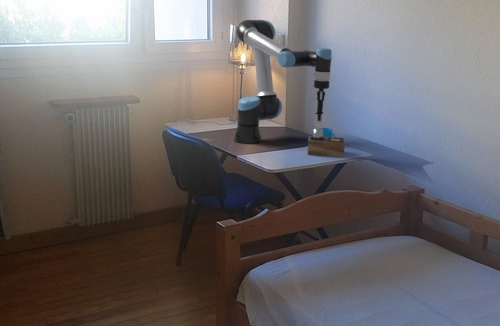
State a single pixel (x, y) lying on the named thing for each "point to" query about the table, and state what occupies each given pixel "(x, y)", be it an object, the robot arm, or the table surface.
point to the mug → (327, 132)
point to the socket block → (326, 147)
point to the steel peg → (317, 134)
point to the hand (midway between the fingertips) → (318, 126)
